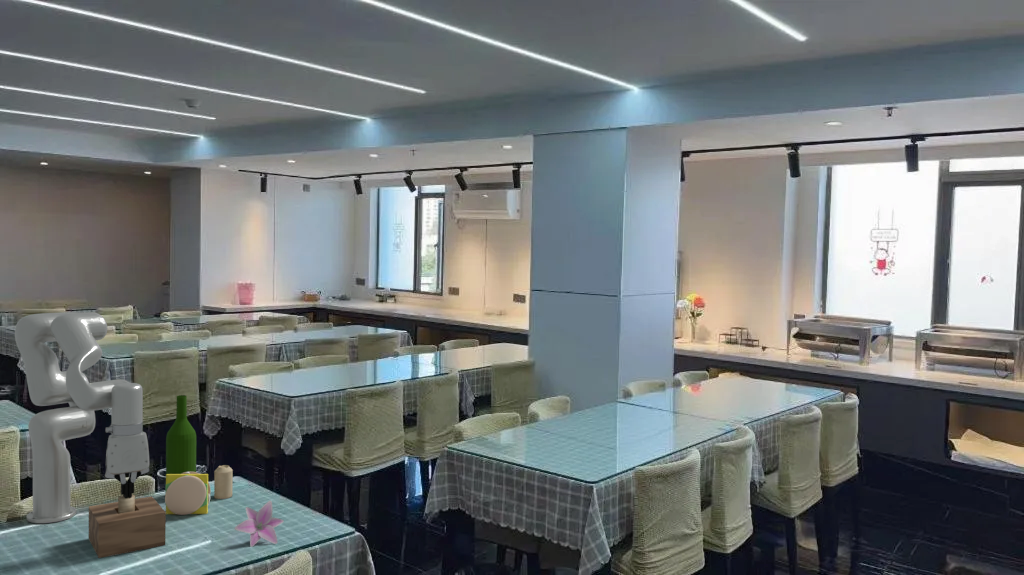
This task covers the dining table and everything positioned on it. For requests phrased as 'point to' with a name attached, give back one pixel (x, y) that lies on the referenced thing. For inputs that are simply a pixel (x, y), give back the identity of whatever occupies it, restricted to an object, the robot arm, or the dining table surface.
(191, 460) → the wine bottle
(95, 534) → the socket block
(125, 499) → the maple peg
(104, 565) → the dining table surface
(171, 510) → the hamburger
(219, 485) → the candle
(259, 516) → the lily
